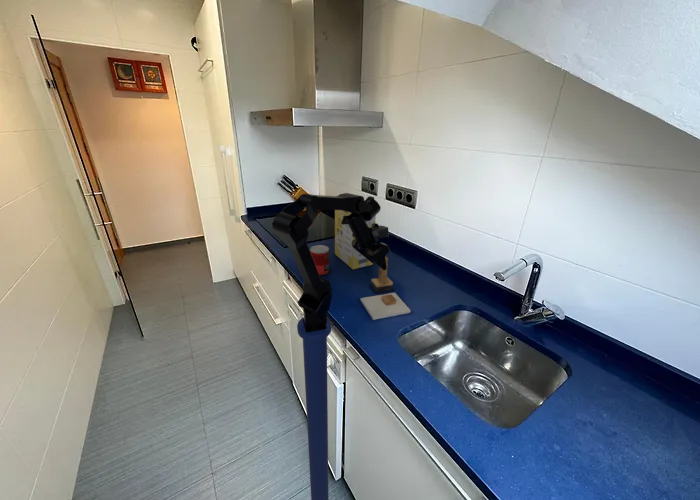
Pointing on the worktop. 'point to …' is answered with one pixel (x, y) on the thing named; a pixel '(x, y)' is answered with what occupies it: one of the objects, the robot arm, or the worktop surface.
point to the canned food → (320, 258)
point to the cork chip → (388, 299)
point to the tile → (384, 307)
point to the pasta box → (348, 242)
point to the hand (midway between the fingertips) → (378, 265)
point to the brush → (382, 281)
